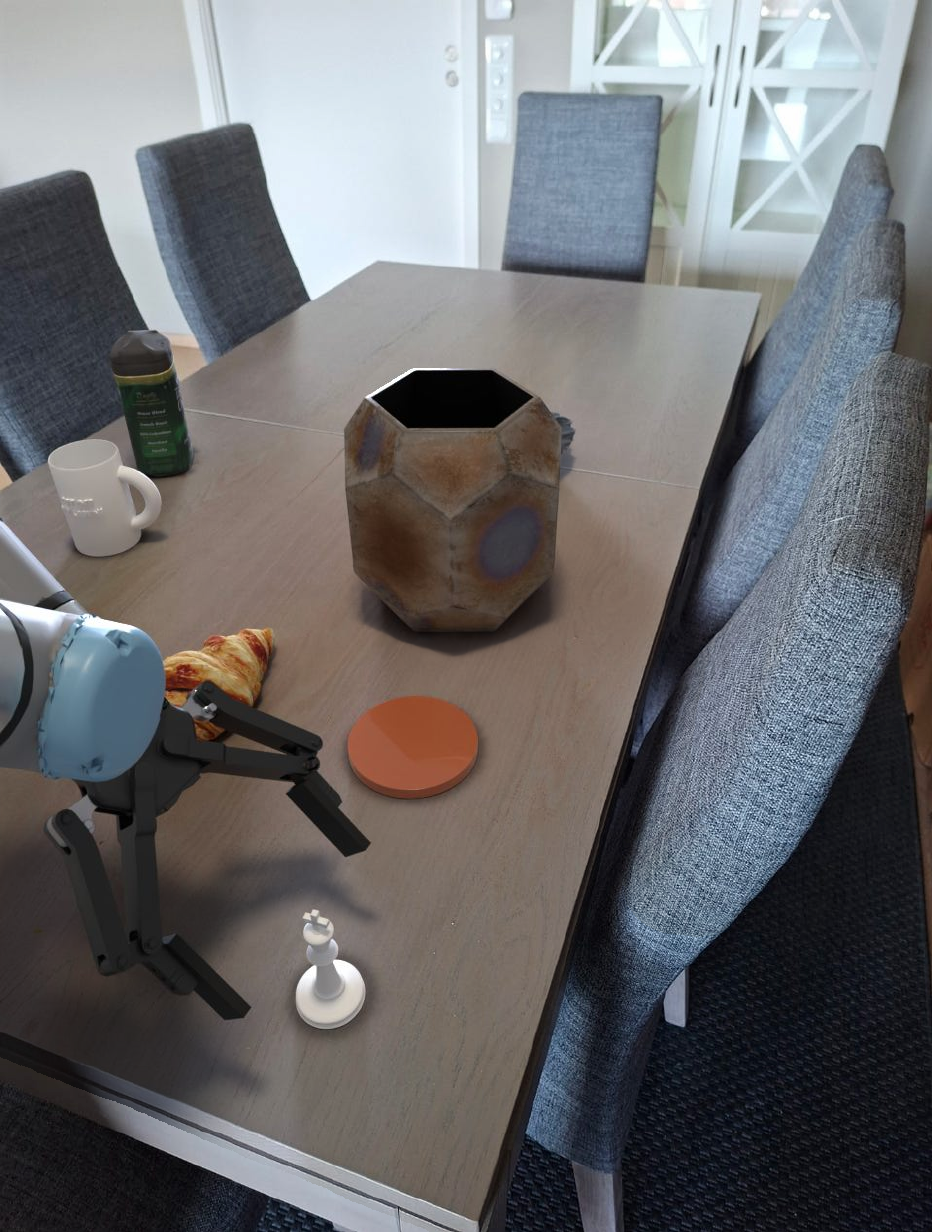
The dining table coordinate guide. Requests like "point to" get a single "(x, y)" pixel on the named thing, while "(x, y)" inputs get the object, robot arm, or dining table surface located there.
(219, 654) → the croissant
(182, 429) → the coffee jar
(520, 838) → the dining table surface
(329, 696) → the dining table surface
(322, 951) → the chess piece
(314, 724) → the dining table surface
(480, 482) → the planter
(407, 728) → the orange flat disc
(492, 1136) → the dining table surface
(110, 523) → the mug
